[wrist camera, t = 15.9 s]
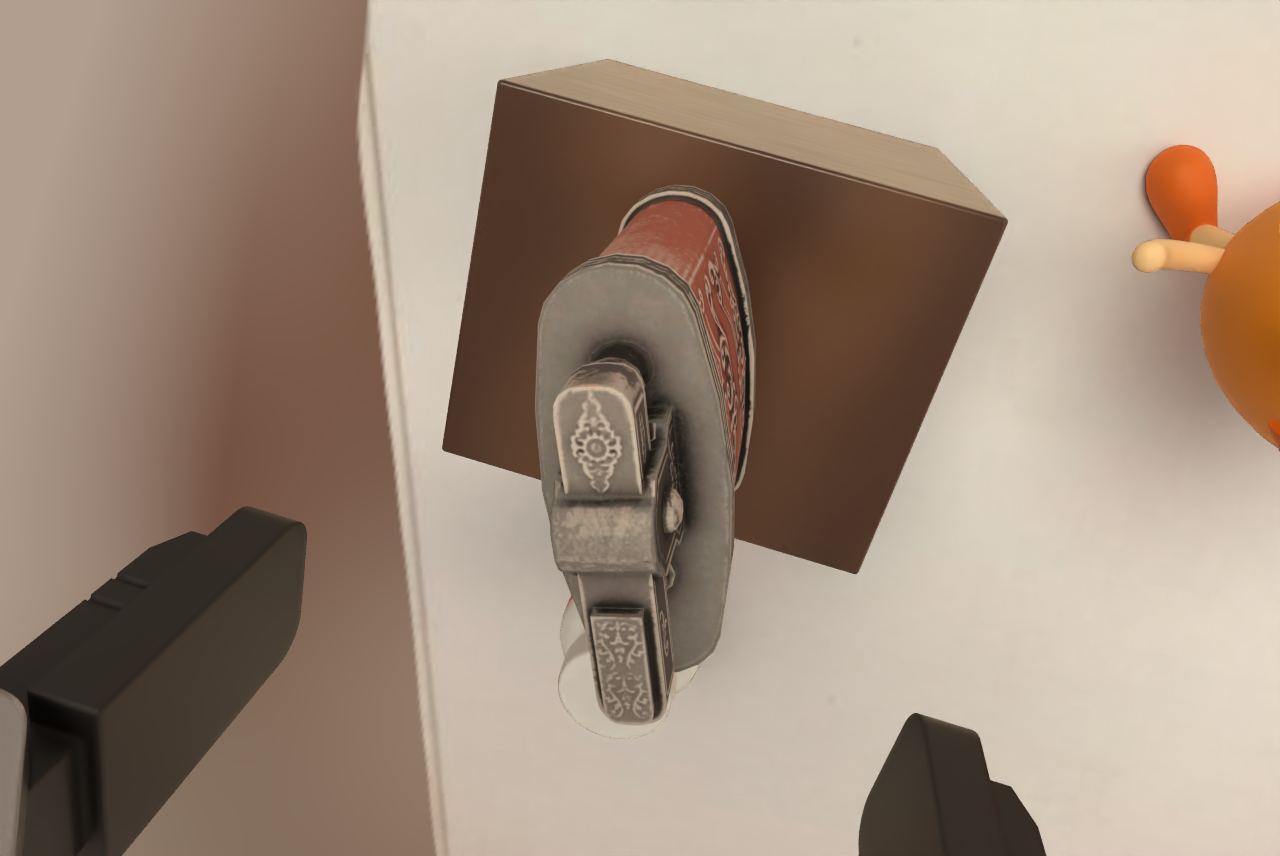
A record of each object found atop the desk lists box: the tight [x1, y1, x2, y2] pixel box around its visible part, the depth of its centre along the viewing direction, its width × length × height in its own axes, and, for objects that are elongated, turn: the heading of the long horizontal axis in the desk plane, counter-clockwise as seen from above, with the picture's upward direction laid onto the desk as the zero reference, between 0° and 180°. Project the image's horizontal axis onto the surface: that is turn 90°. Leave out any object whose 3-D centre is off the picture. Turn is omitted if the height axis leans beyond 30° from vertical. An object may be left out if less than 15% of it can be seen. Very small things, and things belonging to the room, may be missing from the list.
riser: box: [442, 59, 1008, 574], centre depth 28 cm, size 12×10×12 cm
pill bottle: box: [558, 596, 698, 739], centre depth 35 cm, size 5×5×10 cm
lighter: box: [535, 185, 756, 725], centre depth 18 cm, size 8×3×10 cm, turn 6°
